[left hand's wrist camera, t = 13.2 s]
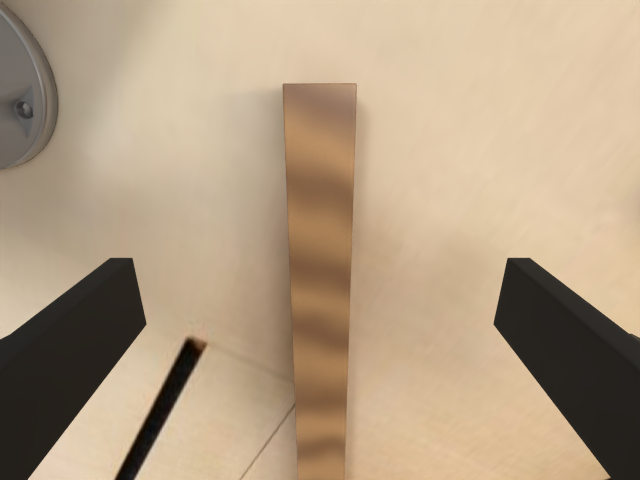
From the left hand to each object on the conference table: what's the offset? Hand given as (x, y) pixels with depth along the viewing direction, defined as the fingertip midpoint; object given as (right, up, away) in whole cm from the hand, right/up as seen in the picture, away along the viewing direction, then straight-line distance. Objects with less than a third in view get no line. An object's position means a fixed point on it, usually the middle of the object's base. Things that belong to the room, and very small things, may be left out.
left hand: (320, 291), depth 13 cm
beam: (0, -23, +34) cm, 41 cm away
